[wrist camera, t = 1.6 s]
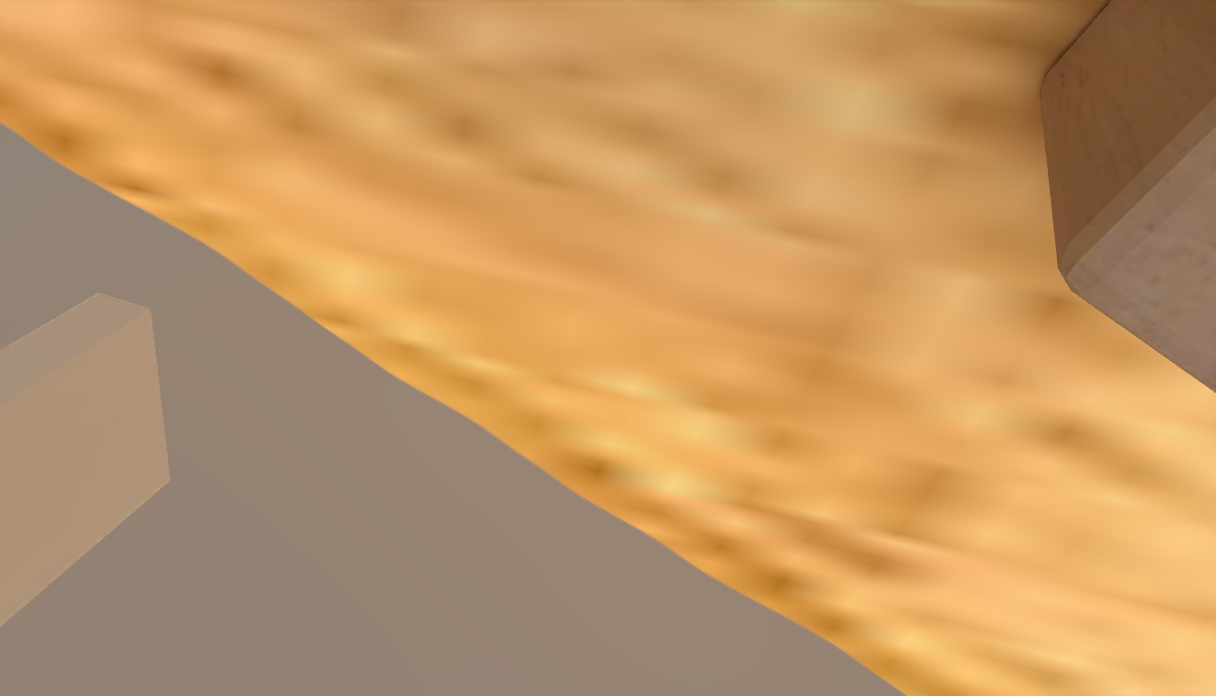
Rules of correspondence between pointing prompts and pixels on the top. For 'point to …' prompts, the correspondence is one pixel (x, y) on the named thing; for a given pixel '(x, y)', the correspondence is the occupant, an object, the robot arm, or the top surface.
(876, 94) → the top surface
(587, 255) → the top surface
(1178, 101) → the block
